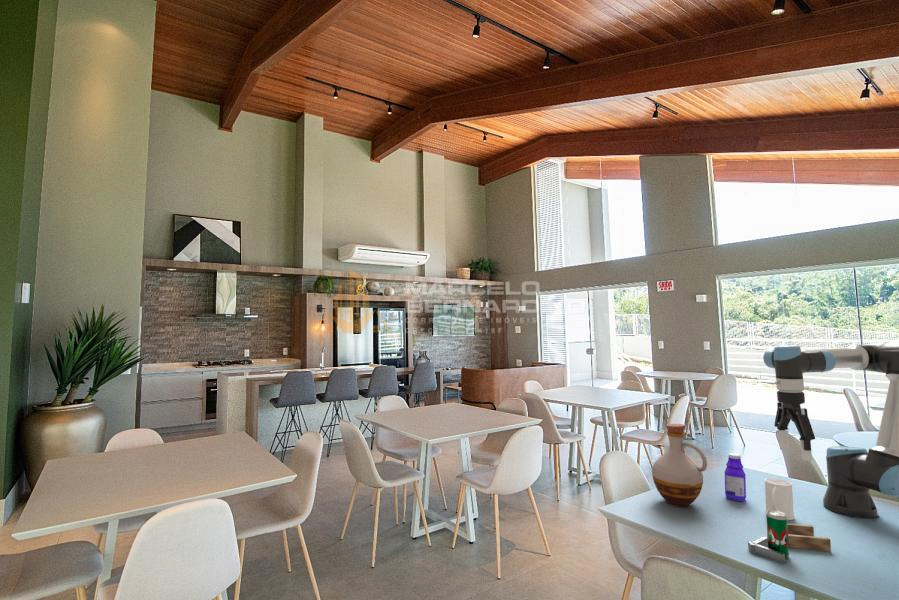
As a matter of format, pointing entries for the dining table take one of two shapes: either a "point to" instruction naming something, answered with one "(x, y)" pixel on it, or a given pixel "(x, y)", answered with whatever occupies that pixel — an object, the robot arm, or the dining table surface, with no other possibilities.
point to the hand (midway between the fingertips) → (795, 454)
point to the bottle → (735, 478)
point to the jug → (678, 470)
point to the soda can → (777, 532)
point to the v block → (765, 550)
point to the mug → (779, 497)
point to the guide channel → (806, 538)
